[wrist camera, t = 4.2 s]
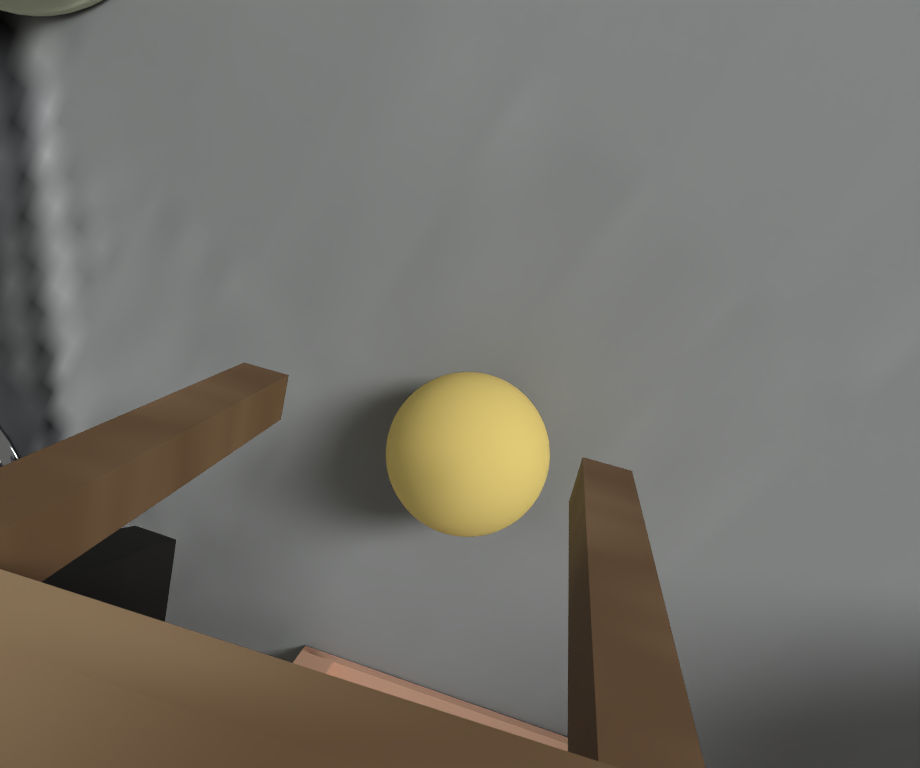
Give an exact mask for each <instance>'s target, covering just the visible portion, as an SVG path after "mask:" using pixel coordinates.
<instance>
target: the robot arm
mask: <svg viewBox="0 0 920 768" xmlns="http://www.w3.org/2000/svg"><path fill="white" fill-rule="evenodd" d="M175 544H176V540H175V539H172V538H170V537H167V536H164V535H161V534H158V533H155V532H152V531H149V530H146V529H143V528H140V527H137V526H132V527H126V528H120V529H119V530H117V531H116V532H114V533H113V534H111V535H110V536H108V537H107V538H105V539H104V540H102V541H101V542H99V543H98V544H96V545H95V546H93V547H92V548H91V549H89V550H88V551H86V552H85V553H83V554H82V555H80V556H79V557H77V558H76V559H74V560H73V561H71V562H70V563H68V564H67V565H65V566H64V567H63V568H61V569H60V570H58V571H57V572H55V573H54V574H52V575H51V576H49V577H48V578H46V579H45V580H43V581H42V583H45V584H48V585H51V586H55V587H58V588H61V589H64V590H67V591H70V592H73V593H76V594H79V595H83V596H86V597H89V598H92V599H95V600H98V601H101V602H104V603H107V604H111V605H114V606H117V607H120V608H123V609H126V610H129V611H132V612H135V613H139V614H142V615H145V616H148V617H151V618H154V619H157V620H160V621H163V622H165V616H166V609H167V602H168V594H169V587H170V580H171V573H172V566H173V559H174V552H175Z"/></svg>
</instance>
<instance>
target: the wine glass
mask: <svg viewBox="0 0 920 768" xmlns="http://www.w3.org/2000/svg"><path fill="white" fill-rule="evenodd" d="M18 459H20V457H19V455H18V453H17V452H16V450H15V448H14V446H13V444H12V443H11V441H10V439H9V438H8V437H7V435H6V434H5V433H4V431H3V430H2V429H1V427H0V467H2V466H4V465H6V464H9V463H11V462H13V461H16V460H18Z"/></svg>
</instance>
